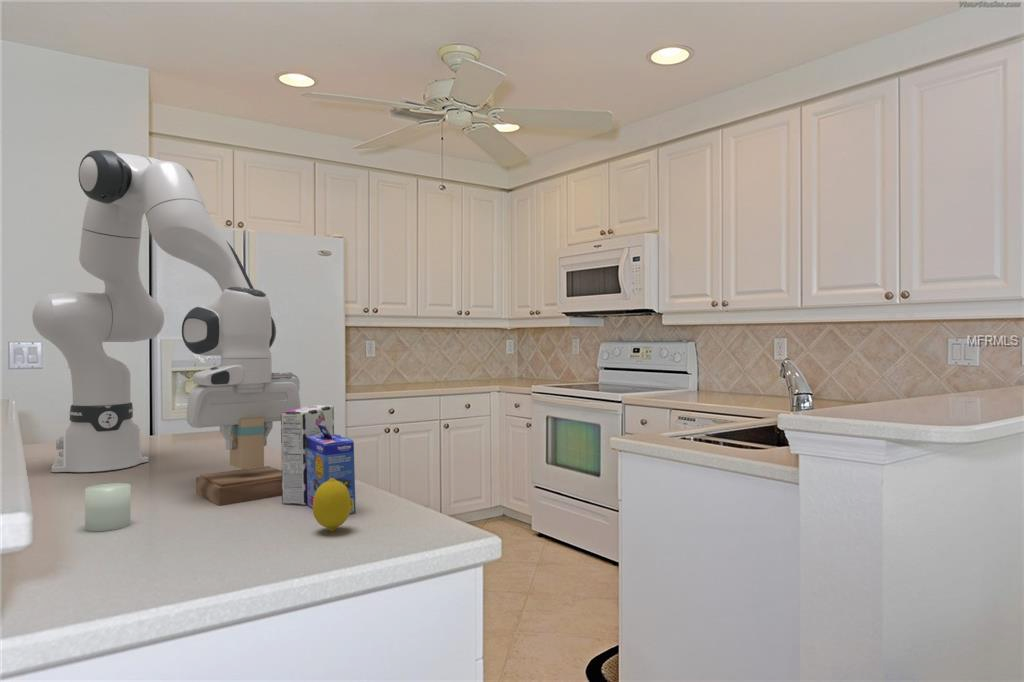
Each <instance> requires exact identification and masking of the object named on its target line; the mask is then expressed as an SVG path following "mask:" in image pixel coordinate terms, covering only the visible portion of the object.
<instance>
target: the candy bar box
mask: <svg viewBox="0 0 1024 682" xmlns="http://www.w3.org/2000/svg"><path fill="white" fill-rule="evenodd" d="M334 414H335V413H334V405H326V404H324V405H323V404H314V405H308V406H302V407H301V408H298V409H293V410H289V411H285V412H281V421H280V435H281V436H280V439H281V440H280V444H281V445H280V447H281V448H280V449H281V450H280V451H281V471H282V495H281V504H283V505H287V506H289V505H292V506H296V505H297V506H308V504H307V450H306V436H312V435H323V433H322V432H321V430H320V429H319V427H318V425H317V424H319V425H322V426H325V427H326V428H327V430H328V431H329V432H330V434H335V423H334V422H335V421H334V420H335V418H334ZM323 431H324V432H326V431H325V430H324V429H323Z"/></svg>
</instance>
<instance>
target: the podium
mask: <svg viewBox="0 0 1024 682" xmlns="http://www.w3.org/2000/svg"><path fill="white" fill-rule="evenodd" d="M195 494H196V495H198V496H200V497H201V498H204V499H206V500H207V501H210V502H211V503H213V504H215V505H217V506H226V505H231V504H236V503H237V504H238V503H242V502H243V503H244V502H249V501H255V500H261V499H267V498H273V497H282V469H277V468H275V467H272V466H269V465H267V466H265V465H264V466H263V467H255V468H248V469H237V470H228V471H221V472H213V473H205V474H204V473H203V474H200V476H198V477H195Z"/></svg>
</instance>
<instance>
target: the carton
mask: <svg viewBox="0 0 1024 682" xmlns="http://www.w3.org/2000/svg"><path fill="white" fill-rule="evenodd" d="M228 432H229V434H230V436H231V437H232V439H236V440H238V444H237V446H238V448H237V449H234V450H229V465H230V466H233V467H235V468H239V470H242V469H249V468H257V467H264V466H265V461H264V460H265V446H264V418H262V417H259V418H247V419H240V421H239V424H238V425H232V427H231V431H228Z"/></svg>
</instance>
